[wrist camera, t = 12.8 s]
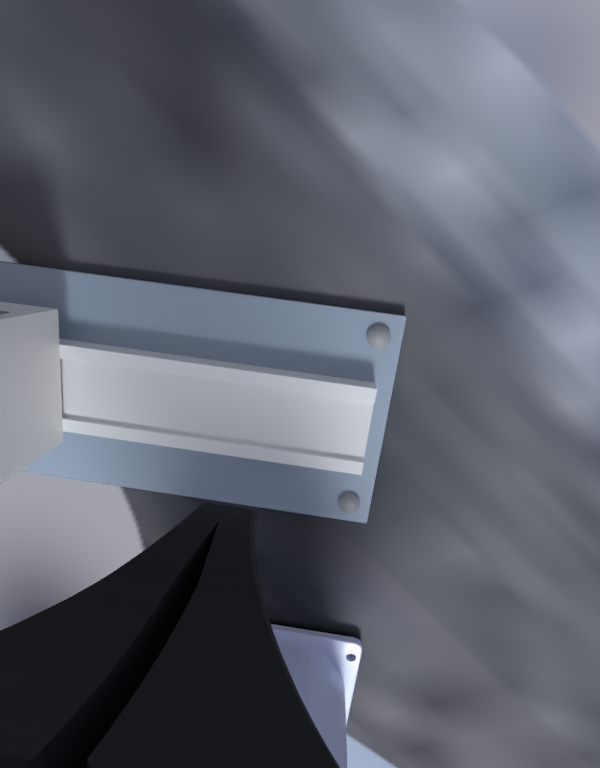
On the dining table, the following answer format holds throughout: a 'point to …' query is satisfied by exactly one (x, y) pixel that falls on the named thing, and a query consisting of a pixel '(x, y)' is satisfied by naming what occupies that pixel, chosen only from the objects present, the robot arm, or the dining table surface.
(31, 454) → the module
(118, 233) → the dining table surface
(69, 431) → the rail panel
